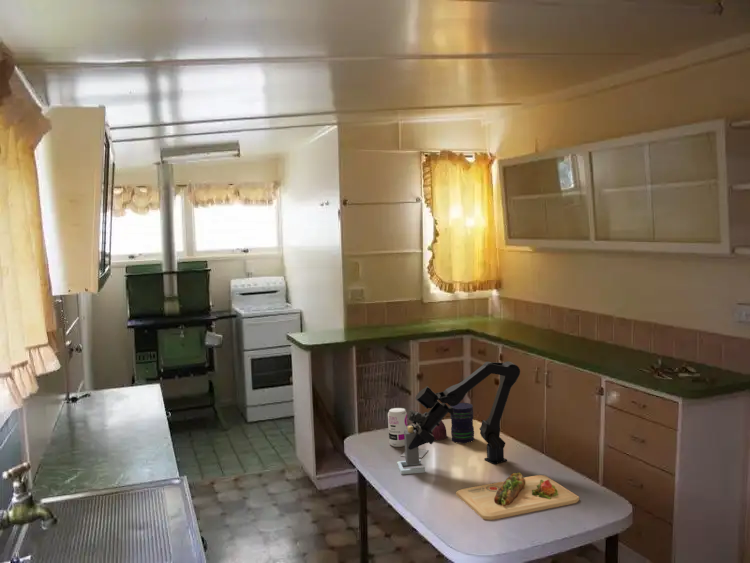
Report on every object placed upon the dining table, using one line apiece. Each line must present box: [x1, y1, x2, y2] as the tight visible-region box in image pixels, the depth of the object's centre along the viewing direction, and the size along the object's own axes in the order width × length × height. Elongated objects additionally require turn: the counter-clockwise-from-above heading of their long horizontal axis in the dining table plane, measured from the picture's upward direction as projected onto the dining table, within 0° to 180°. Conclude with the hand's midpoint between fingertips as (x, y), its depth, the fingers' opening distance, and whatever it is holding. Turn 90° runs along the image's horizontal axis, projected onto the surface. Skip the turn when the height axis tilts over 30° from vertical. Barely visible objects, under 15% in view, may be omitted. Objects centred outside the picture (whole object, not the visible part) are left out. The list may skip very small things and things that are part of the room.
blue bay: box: [396, 458, 426, 475], centre depth 251 cm, size 9×10×2 cm
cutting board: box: [455, 472, 580, 521], centre depth 219 cm, size 35×23×8 cm
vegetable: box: [432, 419, 448, 441], centre depth 285 cm, size 10×9×14 cm
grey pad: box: [400, 448, 429, 459], centre depth 267 cm, size 9×9×1 cm
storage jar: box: [449, 402, 475, 444], centre depth 281 cm, size 10×10×15 cm
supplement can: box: [387, 407, 409, 448], centre depth 279 cm, size 8×8×15 cm
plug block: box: [404, 425, 420, 466], centre depth 250 cm, size 4×4×14 cm
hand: (408, 446), depth 250 cm, fingers closed on plug block, 4 cm apart
